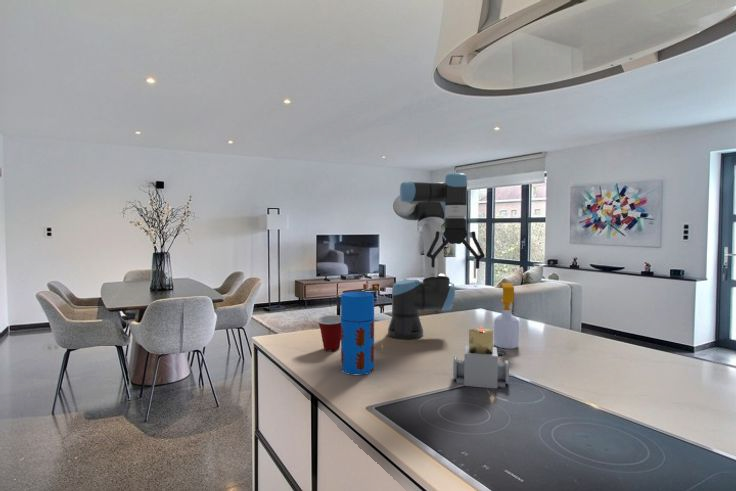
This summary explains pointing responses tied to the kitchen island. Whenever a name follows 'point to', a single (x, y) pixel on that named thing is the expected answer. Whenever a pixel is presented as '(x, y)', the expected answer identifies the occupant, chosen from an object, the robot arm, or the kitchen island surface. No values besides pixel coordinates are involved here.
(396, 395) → the kitchen island surface
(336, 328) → the plastic cup
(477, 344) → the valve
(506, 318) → the soap bottle
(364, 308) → the thermos
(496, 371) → the grey box with flanges
